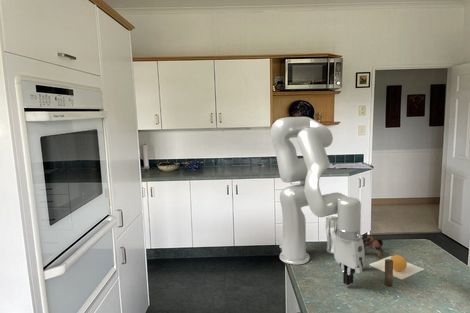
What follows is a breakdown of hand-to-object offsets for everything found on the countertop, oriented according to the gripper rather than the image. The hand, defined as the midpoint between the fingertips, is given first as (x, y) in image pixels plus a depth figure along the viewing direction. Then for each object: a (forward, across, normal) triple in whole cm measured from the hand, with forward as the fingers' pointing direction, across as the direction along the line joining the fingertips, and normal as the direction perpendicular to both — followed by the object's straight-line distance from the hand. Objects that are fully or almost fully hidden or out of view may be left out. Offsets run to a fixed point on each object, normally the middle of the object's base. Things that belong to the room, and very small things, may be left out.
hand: (348, 283), depth 113 cm
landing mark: (+2, 0, -27) cm, 27 cm away
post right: (+2, -6, -13) cm, 15 cm away
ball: (-2, -2, -25) cm, 25 cm away
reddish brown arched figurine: (+2, +13, -30) cm, 33 cm away
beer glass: (+2, +24, -18) cm, 30 cm away
